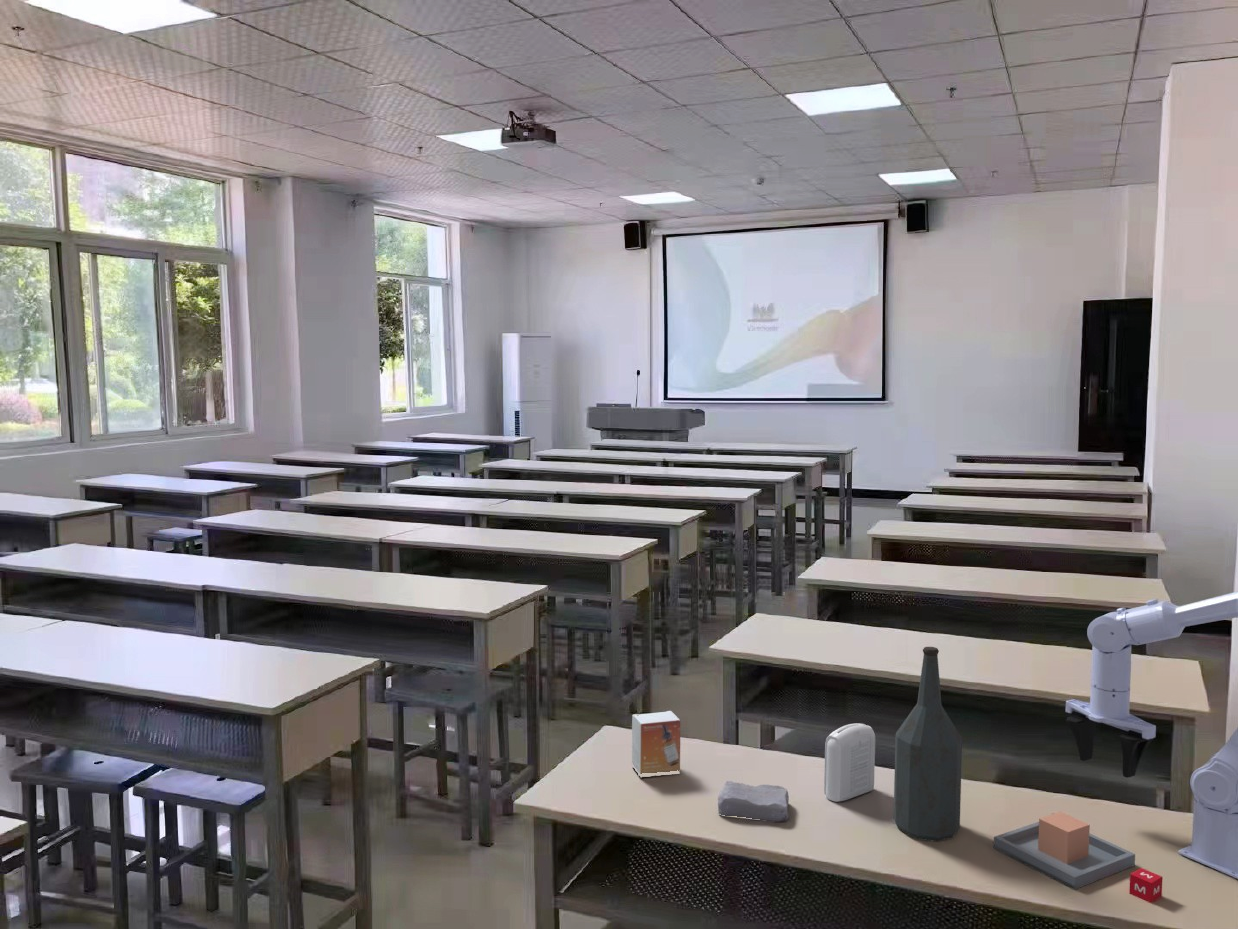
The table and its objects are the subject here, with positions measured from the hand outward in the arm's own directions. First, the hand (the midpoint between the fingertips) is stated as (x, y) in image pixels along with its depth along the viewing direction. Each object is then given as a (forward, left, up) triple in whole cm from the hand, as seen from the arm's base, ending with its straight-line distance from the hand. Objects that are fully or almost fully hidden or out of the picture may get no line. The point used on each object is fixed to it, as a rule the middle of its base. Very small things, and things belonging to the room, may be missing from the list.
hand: (1107, 767), depth 155 cm
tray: (-4, +16, -9) cm, 19 cm away
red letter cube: (-17, +16, -10) cm, 25 cm away
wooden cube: (-4, +16, -9) cm, 19 cm away
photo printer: (+29, +29, -10) cm, 42 cm away
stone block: (+33, +47, -10) cm, 58 cm away
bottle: (+13, +27, -10) cm, 31 cm away
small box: (+54, +54, -10) cm, 77 cm away
